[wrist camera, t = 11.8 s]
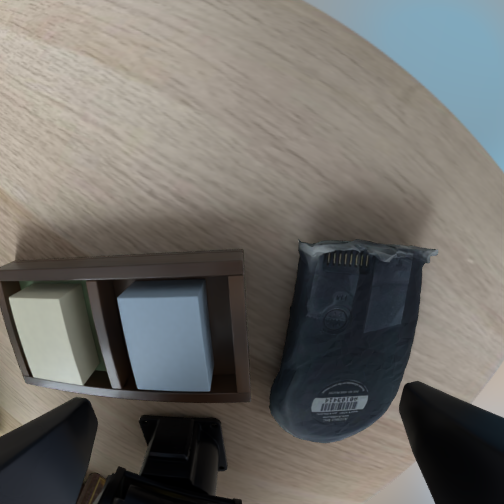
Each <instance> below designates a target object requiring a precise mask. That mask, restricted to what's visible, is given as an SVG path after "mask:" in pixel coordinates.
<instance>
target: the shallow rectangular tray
mask: <svg viewBox="0 0 504 504" xmlns="http://www.w3.org/2000/svg"><path fill="white" fill-rule="evenodd" d="M194 279H205V282H206V293H207V303H208V313H209V323H210V332H211V341H212V350H213V359H214V369H213V376H212V382H211V388H210V391H163V390H145V389H138V388H137V385H136V381H135V377H134V374H133V370H132V366H131V362H130V358H129V353H128V349H127V345H126V340H125V336H124V331H123V327H122V322H121V317H120V311H119V306H118V301H117V297H119V296H120V295H121V294H122V293H123V292H124V291H125V290H126V289H127V288H128V287H129V286H130V285H131V284H132V283H133V282H135V281H166V280H194ZM31 284H82V290H83V295H84V300H85V305H86V309H87V314H88V319H89V323H90V327H91V331H92V335H93V339H94V343H95V347H96V351H97V354H98V358H99V362H100V364H99V365H98V366H97V368H96V369H95V370H94V372H93V373H92V374H91V376H90V377H89V378H88V380H87V381H86V383H85V384H84V385H76V384H69V383H63V382H57V381H51V380H45V379H40V378H35V377H33V375H32V372H31V369H30V367H29V364H28V361H27V358H26V355H25V353H24V350H23V347H22V344H21V340H20V337H19V334H18V331H17V327H16V324H15V320H14V317H13V313H12V309H11V305H10V301H9V297H10V296H12V295H14V294H15V293H17V292H19V291H21V290H22V289H24V288H26V287H28V286H30V285H31ZM0 307H1V311H2V315H3V318H4V322H5V325H6V329H7V332H8V335H9V338H10V341H11V344H12V347H13V350H14V353H15V356H16V359H17V362H18V364H19V367H20V370H21V372H22V374H23V377H24V380H25V382H26V383H27V384H32V385H36V386H41V387H46V388H51V389H57V390H62V391H68V392H75V393H81V394H88V395H95V396H103V397H112V398H121V399H132V400H145V401H161V402H185V403H236V402H251V382H250V363H249V346H248V329H247V311H246V293H245V275H244V256H243V249H236V250H216V251H196V252H176V253H156V254H137V255H117V256H98V257H79V258H60V259H42V260H23V261H13V262H11V263H8V264H6V265H4V266H1V267H0Z"/></svg>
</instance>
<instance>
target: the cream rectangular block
mask: <svg viewBox="0 0 504 504" xmlns="http://www.w3.org/2000/svg"><path fill="white" fill-rule="evenodd" d="M9 301H10V305H11V309H12V313H13V317H14V320H15V324H16V327H17V331H18V334H19V337H20V340H21V344H22V347H23V350H24V353H25V355H26V358H27V361H28V364H29V367H30V369H31V372H32V375H33V377H35V378H40V379H45V380H51V381H57V382H63V383H69V384H76V385H84V384H85V383H86V381H87V380H88V378H89V377H90V376H91V374H92V373H93V372H94V370H95V369H96V368H97V366H98V365H99V364H100V362H99V358H98V354H97V351H96V347H95V343H94V339H93V335H92V331H91V327H90V323H89V319H88V314H87V309H86V305H85V300H84V295H83V290H82V284H31V285H30V286H28V287H26V288H24V289H22V290H21V291H19V292H17V293H15V294H14V295H12V296H10V297H9Z"/></svg>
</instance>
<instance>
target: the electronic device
mask: <svg viewBox="0 0 504 504" xmlns="http://www.w3.org/2000/svg"><path fill="white" fill-rule="evenodd" d="M298 240H299V239H298ZM298 251H299V254H300V259H299V264H298V272H297V280H296V284H295V292H294V297H293V303H292V306H291V307H290V319H289V324H288V329H287V335H286V340H285V345H284V350H283V355H282V360H281V366H280V371H279V372H278V374H277V376H276V378H275V379H274V383H273V385H272V387H271V391H270V397H269V399H270V406H269V408H270V410H271V414H272V416H273V417H274V419H275V420H276V421H277V423H278V424H279V425H280V427H282V428H283V429H284V430H285V431H286V432H288V433H290V434H292V435H293V436H294V437H297V438H299V439H303V440H308V441H312V442H319V443H330V442H335V441H340V440H343V439H344V438H347V437H349V436H352V435H354V434H356V433H358V432H360V431H362V430H364V429H366V428H367V427H369V426H370V425H372V424H373V423H374V422H375V421H377V420H378V419H379V418H380V417H381V416H382V415H383V414H384V413H385V412H386V411H387V409H388V407H389V406H390V404H391V402H392V401H393V399H394V398H395V396H396V394H397V392H398V389H399V386H400V383H401V381H402V378H403V374H404V371H405V368H406V365H407V362H408V360H409V356H410V352H411V347H412V344H413V340H414V335H415V328H416V325H417V320H418V313H419V305H420V293H421V284H422V267H423V265H424V264H425V263H430V256H436V255H438V250H436V249H428V248H422V247H417V246H404V245H389V244H377V243H373V242H370V241H365V240H359V239H356V240H354V241H337V240H332V241H321V242H318V243H314V244H308V243H305V242H301V241H300V240H299V249H298Z"/></svg>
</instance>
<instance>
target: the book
mask: <svg viewBox="0 0 504 504" xmlns="http://www.w3.org/2000/svg"><path fill="white" fill-rule="evenodd" d="M105 482H106V479H105V478H103V477H102V476H101V475H99V474H98V473H93V474H90V475H89V477H88V479H87V482H86V484H85V485H84V484H83V483H82V486H81V489H80V492H79V496H78V499H77V502H76V504H93V502H94V501H95V500H96V498H97V497H98V495H99V494H100V492H101V491H102V489H103V486H104V484H105Z"/></svg>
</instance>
